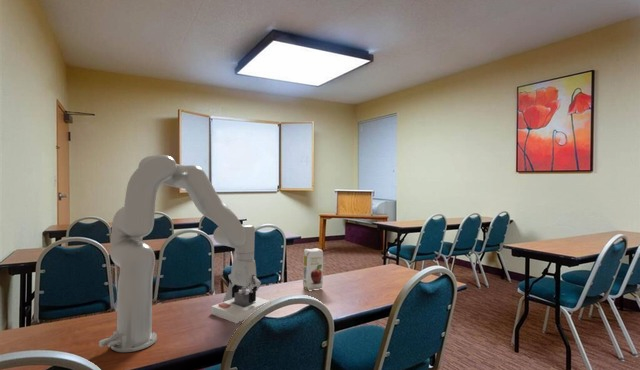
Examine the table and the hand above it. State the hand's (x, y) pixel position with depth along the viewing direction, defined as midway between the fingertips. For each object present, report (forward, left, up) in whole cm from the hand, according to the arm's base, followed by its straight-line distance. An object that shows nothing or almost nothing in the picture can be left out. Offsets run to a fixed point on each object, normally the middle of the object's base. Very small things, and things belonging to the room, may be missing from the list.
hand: (243, 299), depth 134 cm
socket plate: (-1, 0, -4) cm, 5 cm away
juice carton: (+39, -6, -5) cm, 40 cm away
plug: (0, 0, -3) cm, 3 cm away
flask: (+5, +12, -5) cm, 14 cm away
